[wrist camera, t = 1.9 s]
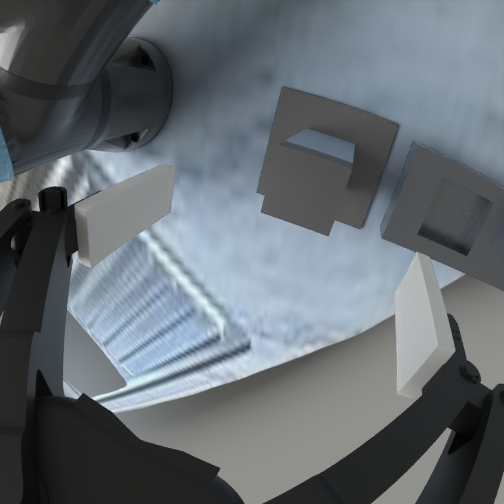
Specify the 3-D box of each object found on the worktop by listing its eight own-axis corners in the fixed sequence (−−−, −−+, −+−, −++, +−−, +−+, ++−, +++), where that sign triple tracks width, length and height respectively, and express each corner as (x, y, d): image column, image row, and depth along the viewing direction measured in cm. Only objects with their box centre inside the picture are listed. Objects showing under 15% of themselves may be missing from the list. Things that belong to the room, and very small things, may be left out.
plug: (294, 173, 32) (260, 212, 22) (307, 128, 30) (277, 144, 20) (340, 188, 31) (328, 236, 21) (354, 144, 29) (352, 169, 19)
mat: (257, 191, 35) (256, 192, 35) (283, 87, 29) (282, 86, 28) (360, 228, 33) (360, 229, 33) (397, 123, 27) (398, 124, 26)
